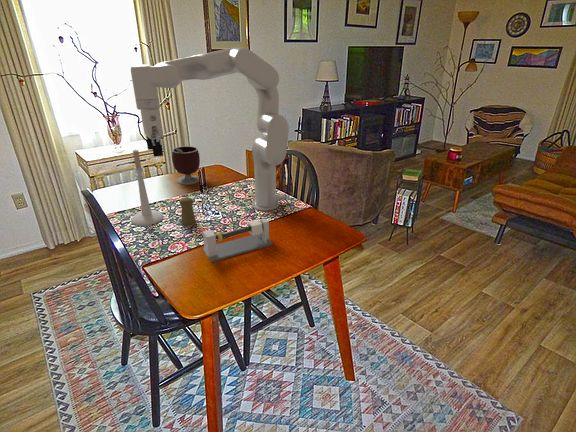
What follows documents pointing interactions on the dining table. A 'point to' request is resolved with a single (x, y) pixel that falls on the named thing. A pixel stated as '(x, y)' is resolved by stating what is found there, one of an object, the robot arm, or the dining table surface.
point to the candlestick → (144, 200)
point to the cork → (187, 212)
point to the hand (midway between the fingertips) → (155, 152)
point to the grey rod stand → (234, 242)
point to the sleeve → (255, 227)
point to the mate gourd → (186, 163)
